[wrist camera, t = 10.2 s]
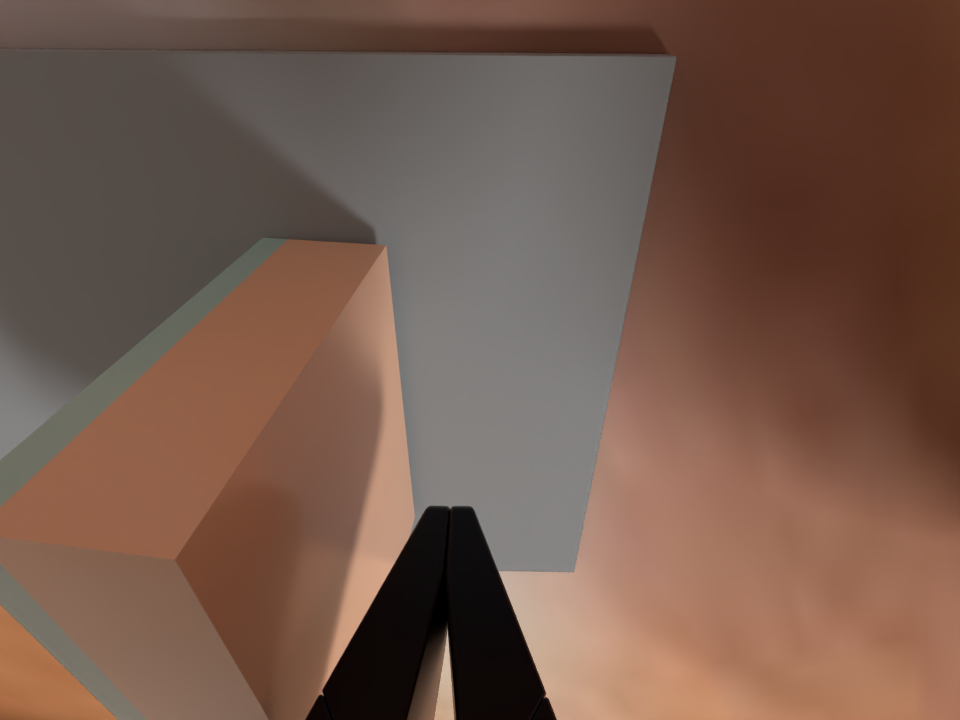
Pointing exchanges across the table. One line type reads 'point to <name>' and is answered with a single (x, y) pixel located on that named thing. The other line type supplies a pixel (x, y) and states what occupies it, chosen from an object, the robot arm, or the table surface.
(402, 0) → the table surface
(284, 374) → the tile
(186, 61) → the mat
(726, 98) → the table surface
